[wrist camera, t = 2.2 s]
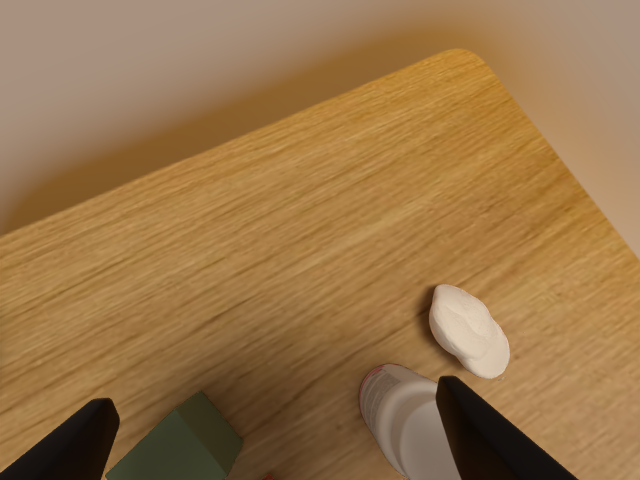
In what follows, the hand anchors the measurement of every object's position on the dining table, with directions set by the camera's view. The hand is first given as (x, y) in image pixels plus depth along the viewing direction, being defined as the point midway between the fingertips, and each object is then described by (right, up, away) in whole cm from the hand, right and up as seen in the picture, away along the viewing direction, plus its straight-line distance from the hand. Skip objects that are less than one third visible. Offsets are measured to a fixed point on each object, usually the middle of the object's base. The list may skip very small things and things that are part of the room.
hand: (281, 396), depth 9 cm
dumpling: (+11, -2, +15) cm, 19 cm away
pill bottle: (+6, -7, +13) cm, 16 cm away
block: (-7, -9, +12) cm, 17 cm away
